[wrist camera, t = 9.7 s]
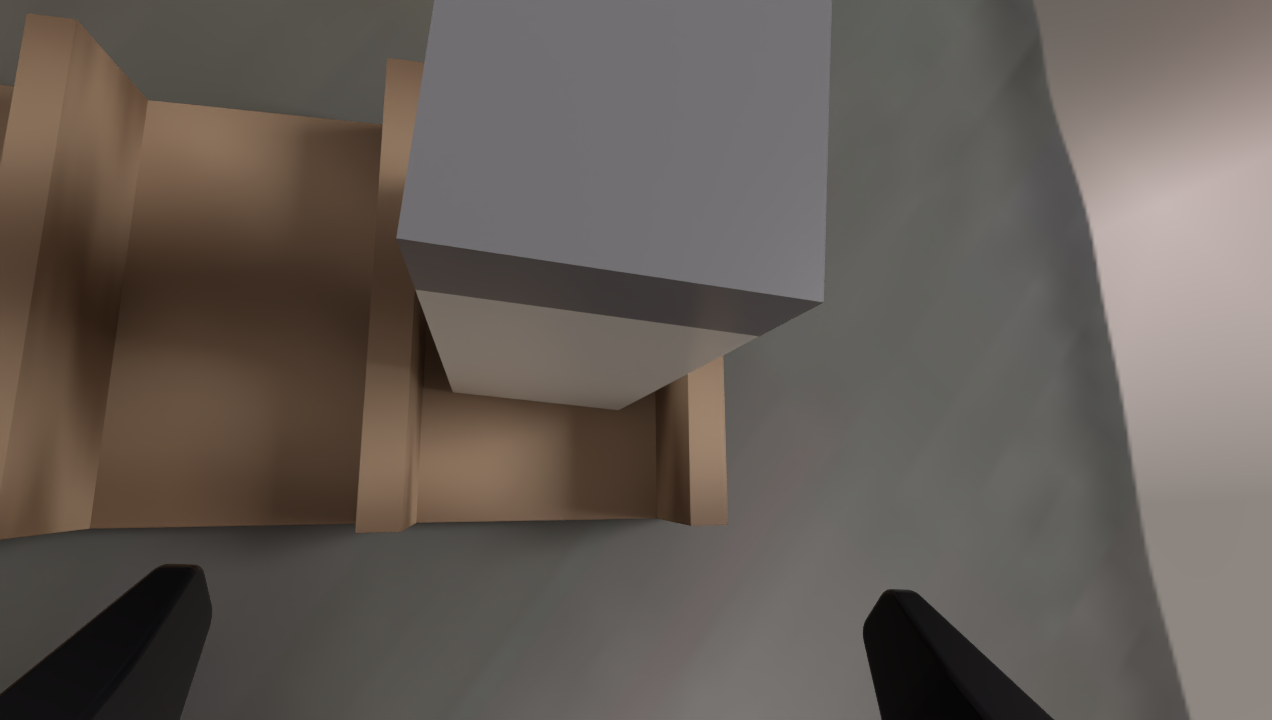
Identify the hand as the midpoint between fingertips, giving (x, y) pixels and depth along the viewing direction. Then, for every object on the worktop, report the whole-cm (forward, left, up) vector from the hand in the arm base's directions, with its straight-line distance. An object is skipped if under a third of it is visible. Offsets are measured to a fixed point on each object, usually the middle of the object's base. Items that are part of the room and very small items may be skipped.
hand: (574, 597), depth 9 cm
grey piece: (+6, -1, -11) cm, 13 cm away
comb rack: (+6, +8, -12) cm, 16 cm away
